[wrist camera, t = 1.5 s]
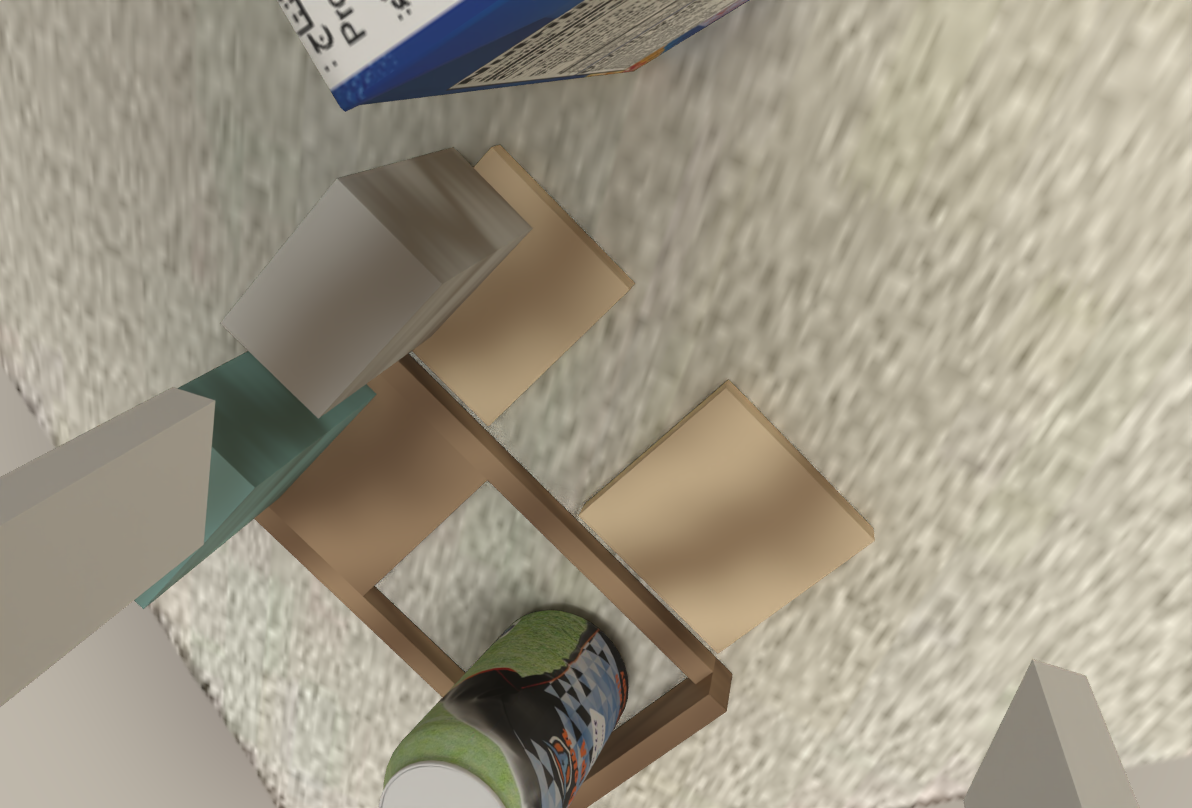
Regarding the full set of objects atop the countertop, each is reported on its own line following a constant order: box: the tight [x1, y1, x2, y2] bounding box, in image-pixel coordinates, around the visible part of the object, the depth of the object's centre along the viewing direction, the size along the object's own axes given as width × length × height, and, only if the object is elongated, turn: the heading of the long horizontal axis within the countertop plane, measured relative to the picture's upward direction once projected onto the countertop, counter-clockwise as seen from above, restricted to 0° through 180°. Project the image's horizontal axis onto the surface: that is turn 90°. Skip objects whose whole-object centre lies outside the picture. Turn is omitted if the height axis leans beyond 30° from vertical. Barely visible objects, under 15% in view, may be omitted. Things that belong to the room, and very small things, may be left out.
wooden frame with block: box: [134, 351, 732, 808], centre depth 37 cm, size 22×10×10 cm, turn 46°
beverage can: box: [379, 610, 628, 808], centre depth 37 cm, size 6×7×12 cm
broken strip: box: [220, 145, 875, 653], centre depth 33 cm, size 21×8×10 cm, turn 46°
